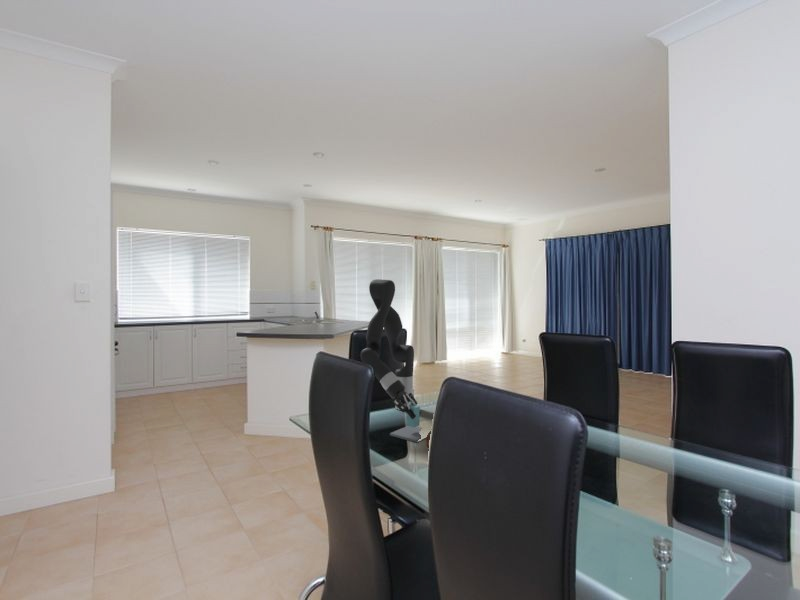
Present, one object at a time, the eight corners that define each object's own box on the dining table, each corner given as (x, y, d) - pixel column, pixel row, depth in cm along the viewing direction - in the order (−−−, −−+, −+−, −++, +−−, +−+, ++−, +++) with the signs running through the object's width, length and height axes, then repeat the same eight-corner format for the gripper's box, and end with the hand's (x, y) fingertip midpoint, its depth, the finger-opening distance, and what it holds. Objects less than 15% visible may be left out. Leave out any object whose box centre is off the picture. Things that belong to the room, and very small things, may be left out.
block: (411, 423, 179) (412, 404, 179) (419, 425, 176) (419, 406, 176) (406, 425, 176) (406, 406, 176) (413, 427, 173) (413, 408, 173)
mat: (409, 427, 186) (409, 425, 186) (436, 433, 177) (436, 431, 177) (390, 435, 175) (389, 433, 175) (416, 442, 166) (416, 440, 166)
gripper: (389, 382, 173) (415, 415, 167) (405, 376, 186) (429, 407, 180) (378, 393, 176) (403, 426, 170) (394, 387, 188) (418, 417, 182)
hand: (417, 416), depth 175 cm, fingers closed on block, 4 cm apart
